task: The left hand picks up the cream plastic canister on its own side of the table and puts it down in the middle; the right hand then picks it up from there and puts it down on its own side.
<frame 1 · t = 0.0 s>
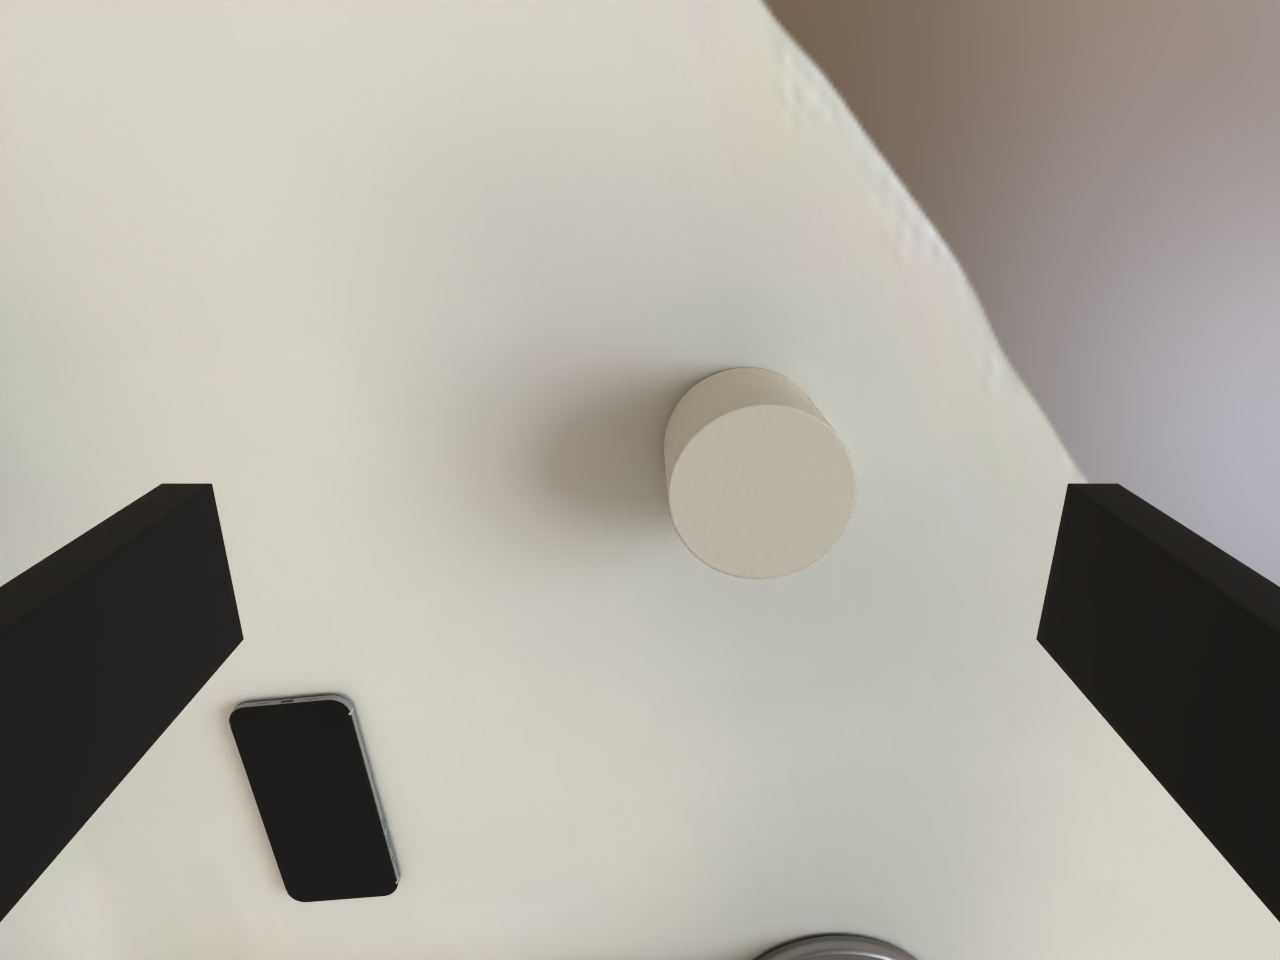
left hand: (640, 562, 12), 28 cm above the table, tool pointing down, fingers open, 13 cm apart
canister: (742, 445, 41), on the table
smartphone: (321, 797, 49), on the table
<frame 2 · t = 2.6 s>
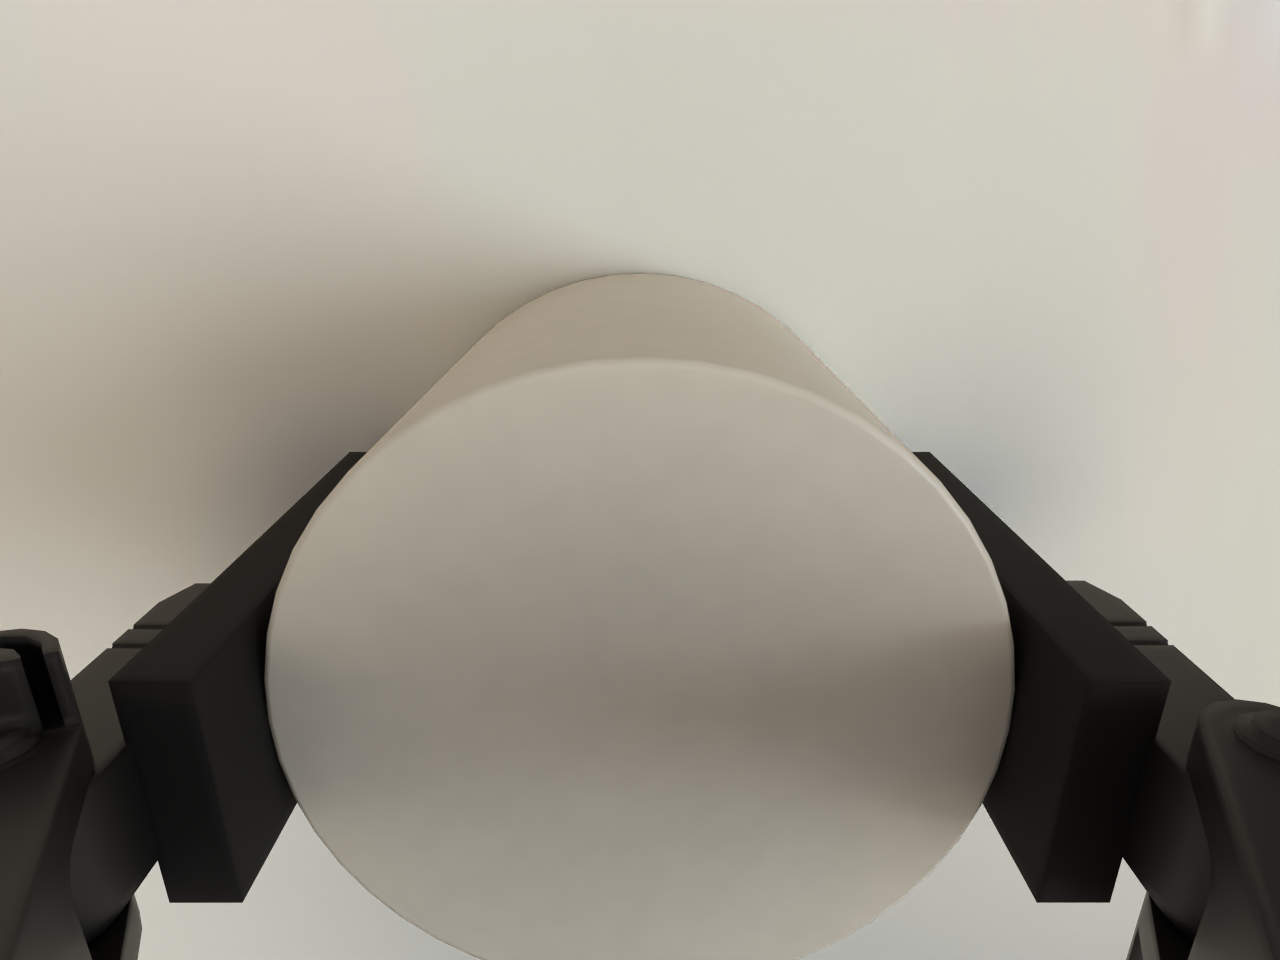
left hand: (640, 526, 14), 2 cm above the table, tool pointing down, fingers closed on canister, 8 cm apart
canister: (639, 492, 15), on the table, touching left hand
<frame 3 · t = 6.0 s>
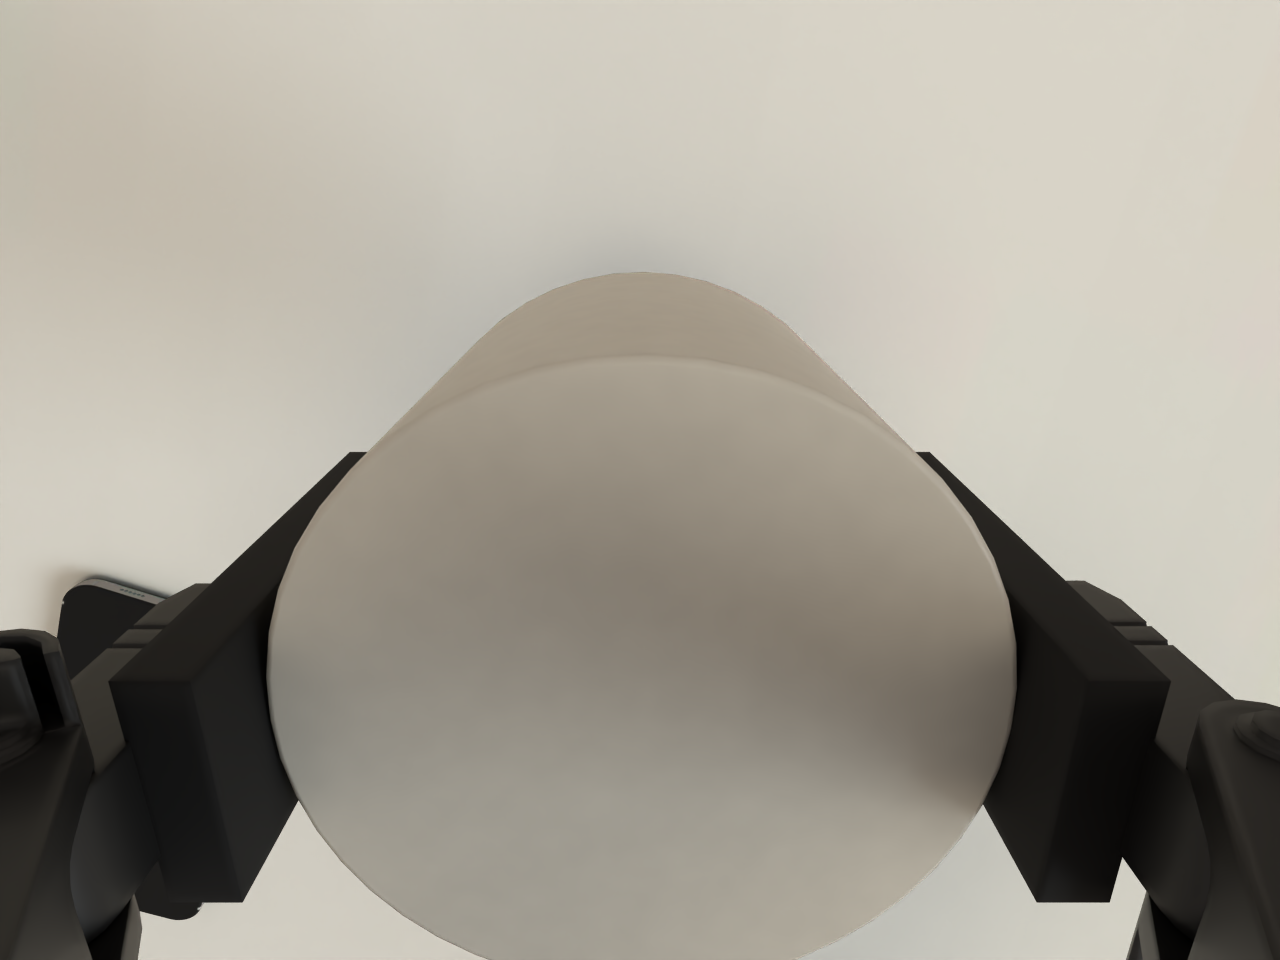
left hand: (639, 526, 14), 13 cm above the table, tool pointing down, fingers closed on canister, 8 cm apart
canister: (640, 491, 15), point 12 cm above the table, touching left hand
smartphone: (148, 753, 32), on the table
when the left hand's fingers open (3 cm above the table, at t = 9.3 s): canister stays where it is, on the table.
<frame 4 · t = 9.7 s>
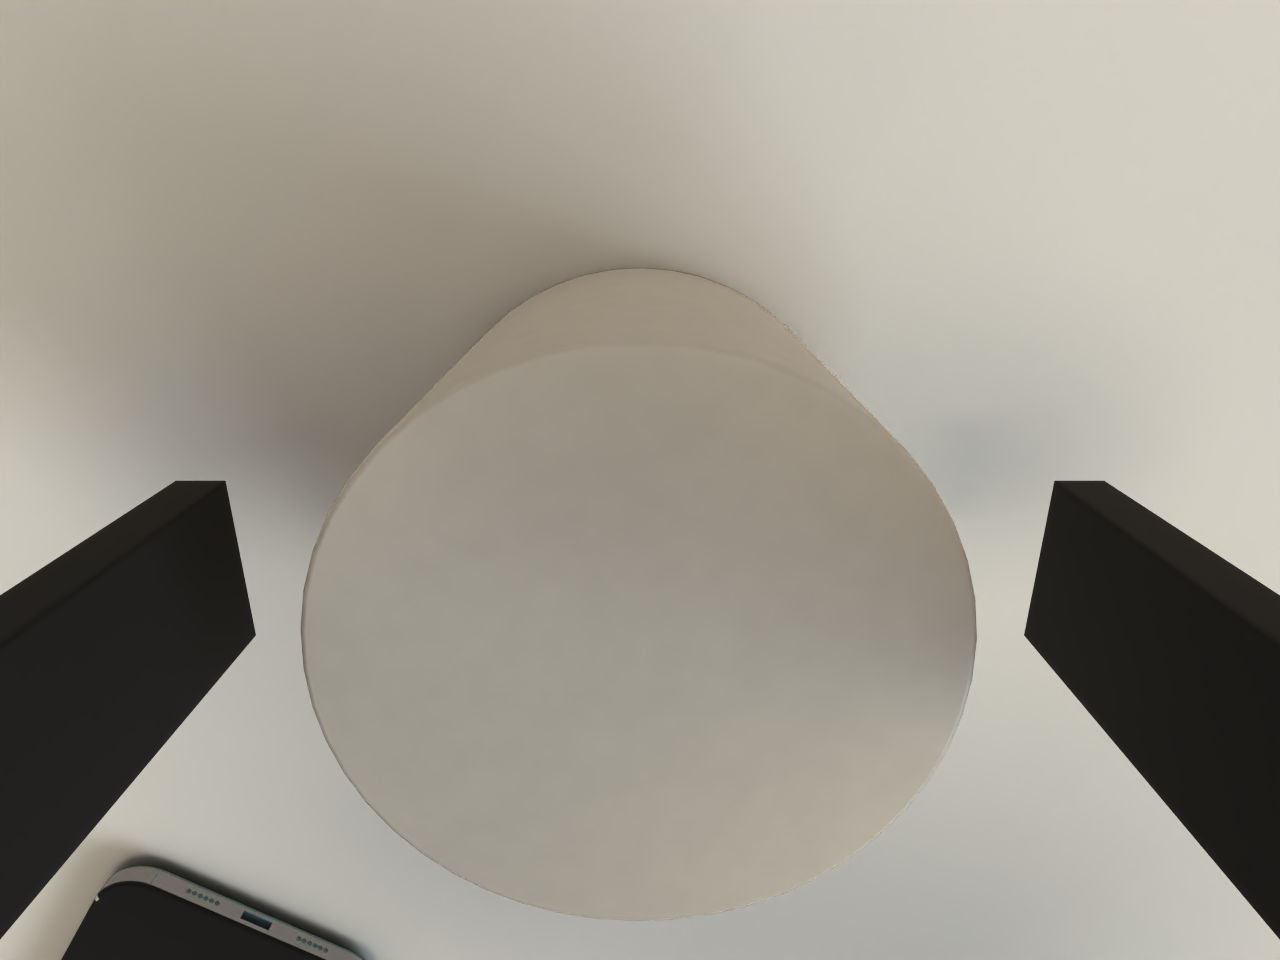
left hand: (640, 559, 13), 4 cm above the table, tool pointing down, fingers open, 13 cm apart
canister: (639, 475, 16), on the table
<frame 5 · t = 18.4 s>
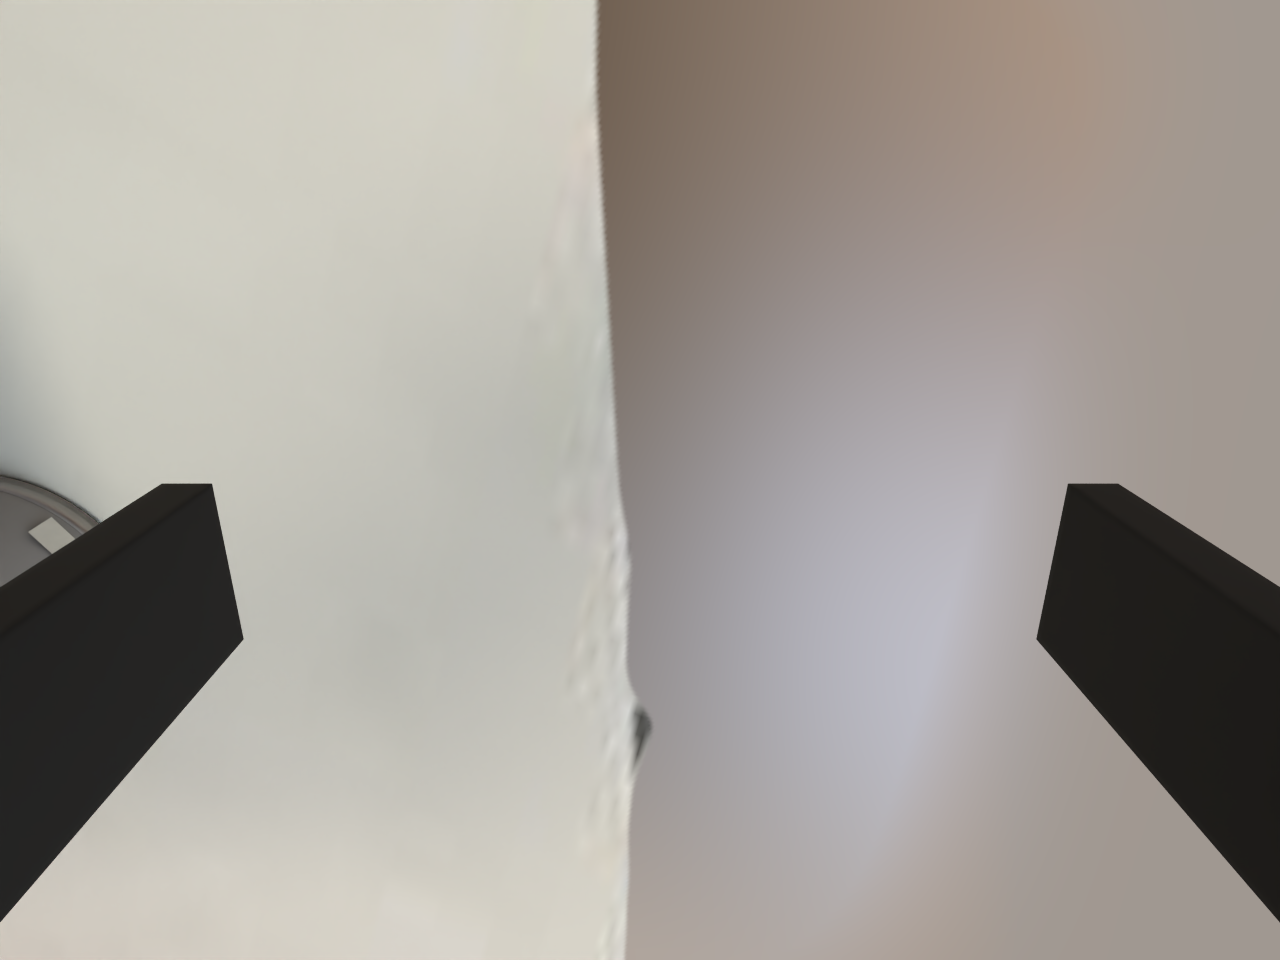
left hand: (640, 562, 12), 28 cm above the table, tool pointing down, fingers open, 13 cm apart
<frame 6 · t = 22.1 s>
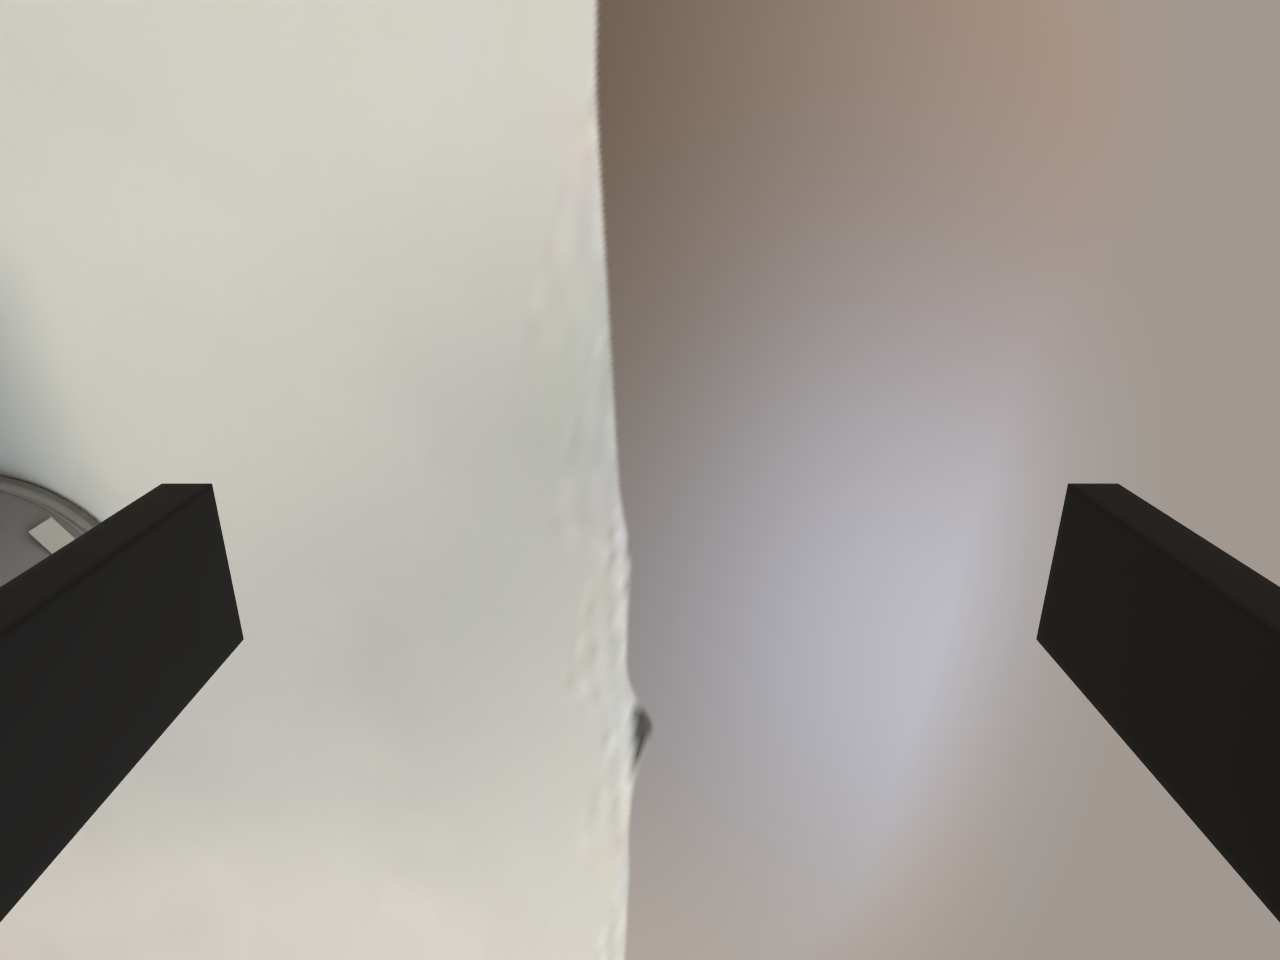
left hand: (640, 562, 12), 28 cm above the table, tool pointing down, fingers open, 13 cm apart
when the right hand's fingers open (3 cm above the table, at t = 25.9 s): canister stays where it is, on the table.
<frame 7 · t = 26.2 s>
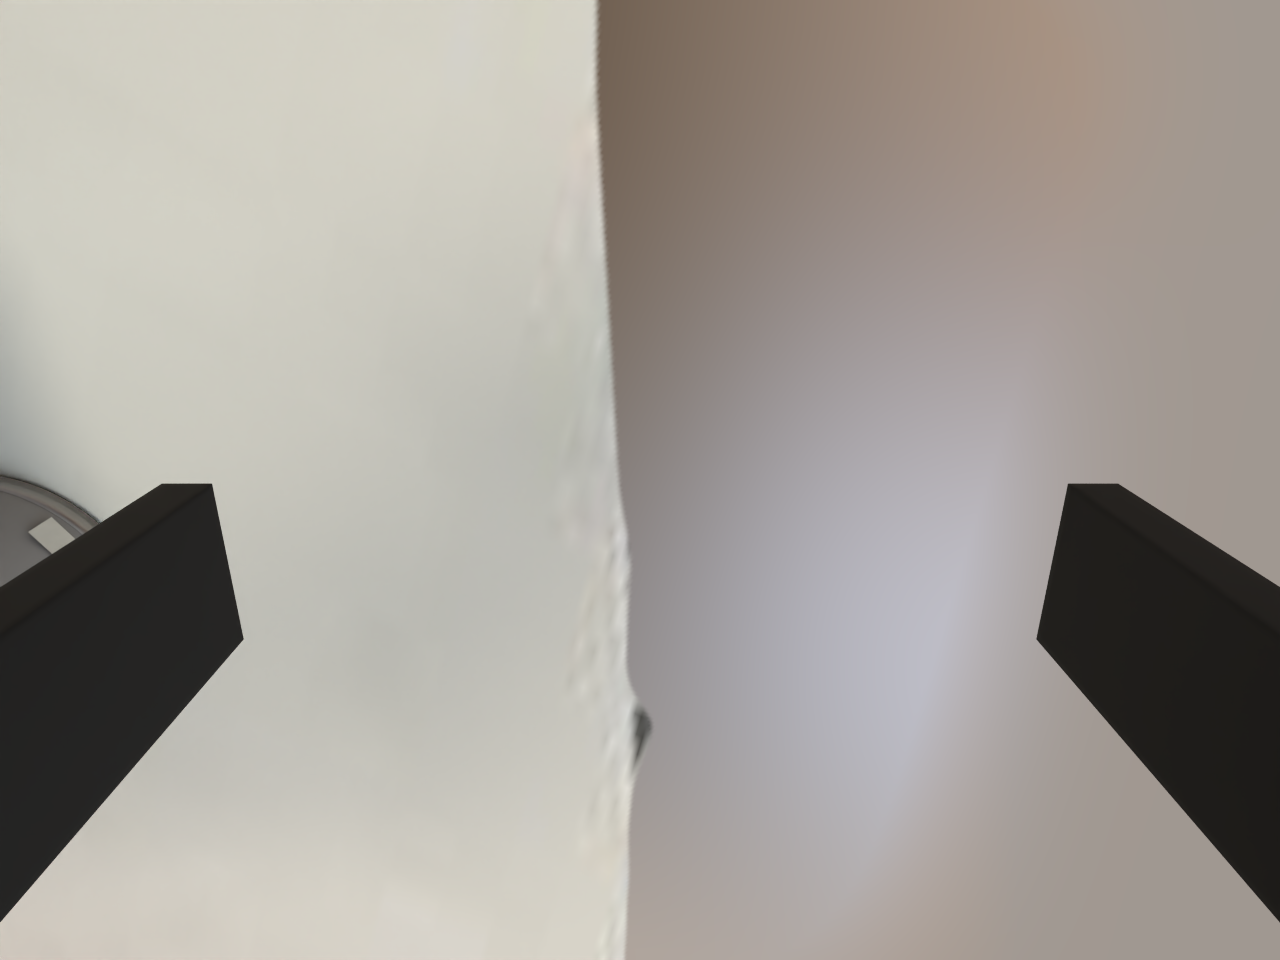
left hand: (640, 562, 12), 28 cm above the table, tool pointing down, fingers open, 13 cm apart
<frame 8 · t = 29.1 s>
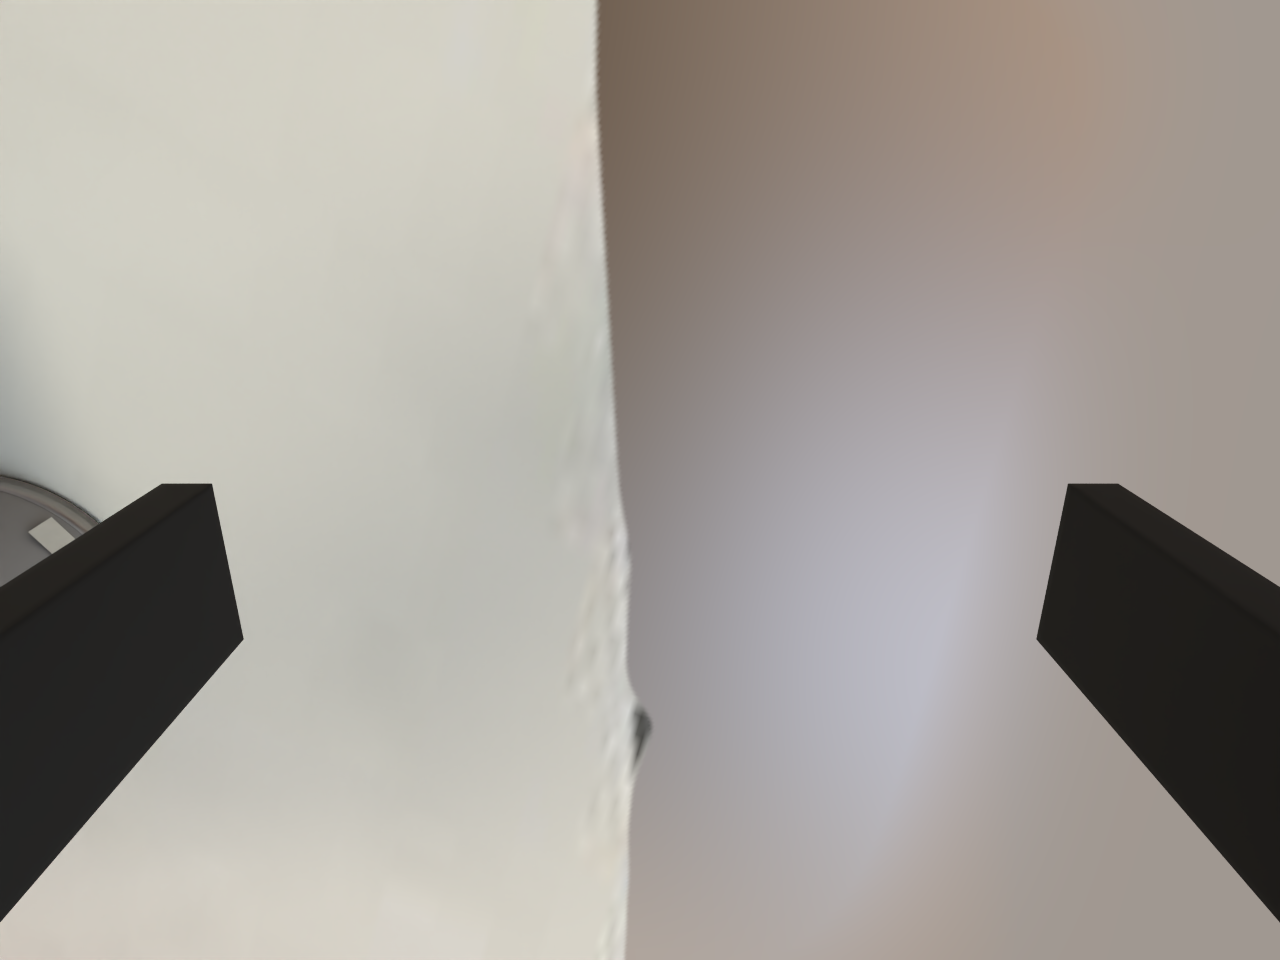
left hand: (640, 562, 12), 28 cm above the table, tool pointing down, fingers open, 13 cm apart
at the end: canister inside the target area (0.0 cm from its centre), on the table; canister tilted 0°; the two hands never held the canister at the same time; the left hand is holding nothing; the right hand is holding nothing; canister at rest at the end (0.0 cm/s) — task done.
